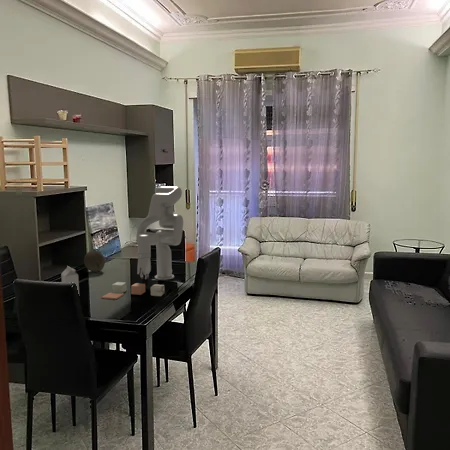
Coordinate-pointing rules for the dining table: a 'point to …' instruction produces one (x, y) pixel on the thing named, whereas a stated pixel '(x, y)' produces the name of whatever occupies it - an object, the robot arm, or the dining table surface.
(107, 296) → the colour tile
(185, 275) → the dining table surface
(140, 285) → the terracotta block
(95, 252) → the cantaloupe
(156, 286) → the cream block
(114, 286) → the sage block
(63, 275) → the milk carton
